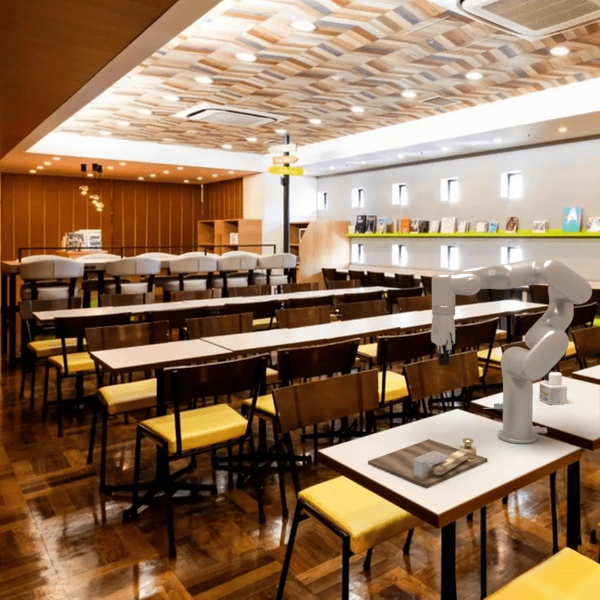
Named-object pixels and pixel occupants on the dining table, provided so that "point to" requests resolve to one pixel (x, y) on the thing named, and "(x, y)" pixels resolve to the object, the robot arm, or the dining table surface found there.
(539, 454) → the dining table surface
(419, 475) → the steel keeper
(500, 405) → the metal bracket
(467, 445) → the brass pin
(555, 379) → the container
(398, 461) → the walnut board
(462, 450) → the arm link
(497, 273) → the robot arm
